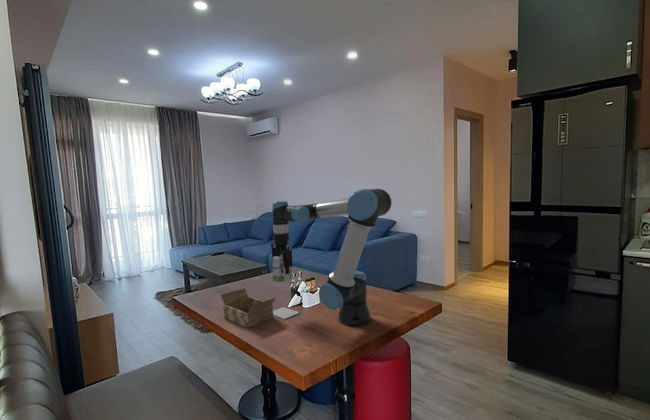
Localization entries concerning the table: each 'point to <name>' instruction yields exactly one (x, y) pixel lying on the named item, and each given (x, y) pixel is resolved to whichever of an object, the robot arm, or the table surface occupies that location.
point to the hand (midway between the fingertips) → (282, 279)
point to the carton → (246, 308)
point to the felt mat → (284, 313)
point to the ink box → (279, 269)
